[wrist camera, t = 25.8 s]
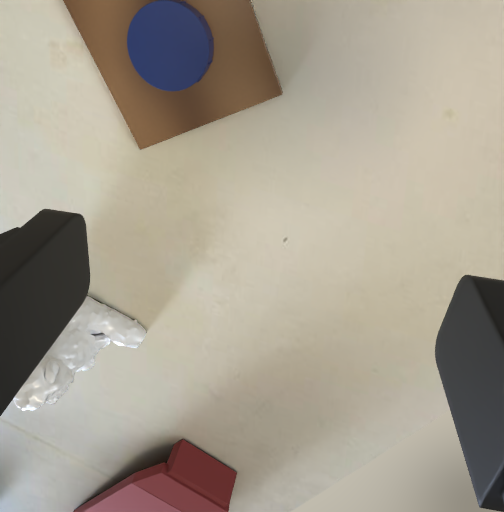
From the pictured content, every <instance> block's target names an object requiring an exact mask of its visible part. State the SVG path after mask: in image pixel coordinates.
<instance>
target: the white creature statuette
mask: <svg viewBox="0 0 504 512" xmlns="http://www.w3.org/2000/svg"><path fill="white" fill-rule="evenodd" d="M146 333H147V332H146V330H145V329H144V327H143V326H141V325H140V324H139V323H138V322H137V320H136V319H135V320H132V319H130V318H129V317H127V316H125V315H123V314H121V313H120V312H118V311H116V310H115V309H112V308H110V307H108V306H106V305H105V304H101V303H99V302H97V301H96V300H94V299H92V298H91V297H89V296H86V299H85V301H84V302H83V304H82V305H81V307H80V308H79V309H78V311H77V312H76V314H75V315H74V316H73V318H72V319H71V320H70V322H69V323H68V324H67V326H66V327H65V329H64V330H63V331H62V333H61V334H60V335H59V337H58V338H57V339H56V341H55V342H54V344H53V345H52V346H51V348H50V349H49V350H48V352H47V353H46V354H45V356H44V357H43V359H42V360H41V361H40V363H39V364H38V365H37V367H36V368H35V369H34V371H33V372H32V374H31V375H30V376H29V378H28V379H27V380H26V382H25V383H24V385H23V386H22V387H21V389H20V390H19V391H18V393H17V394H16V395H15V397H14V398H13V399H14V401H15V404H16V406H17V407H20V408H21V409H22V410H26V409H29V410H35V409H38V408H40V407H41V405H43V404H45V403H49V404H55V403H56V401H57V399H58V398H59V397H60V396H62V394H63V393H65V392H67V390H68V384H69V383H72V382H73V381H74V374H75V371H78V372H79V371H80V370H81V369H82V370H83V371H87V370H89V369H91V368H92V367H93V366H94V365H95V360H94V355H95V354H97V353H98V352H99V350H100V349H102V348H104V347H105V346H107V345H109V344H110V342H111V341H112V342H113V343H116V344H117V345H119V346H126V347H127V346H129V347H132V348H138V347H139V345H140V343H142V341H143V340H144V338H145V336H146Z"/></svg>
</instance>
